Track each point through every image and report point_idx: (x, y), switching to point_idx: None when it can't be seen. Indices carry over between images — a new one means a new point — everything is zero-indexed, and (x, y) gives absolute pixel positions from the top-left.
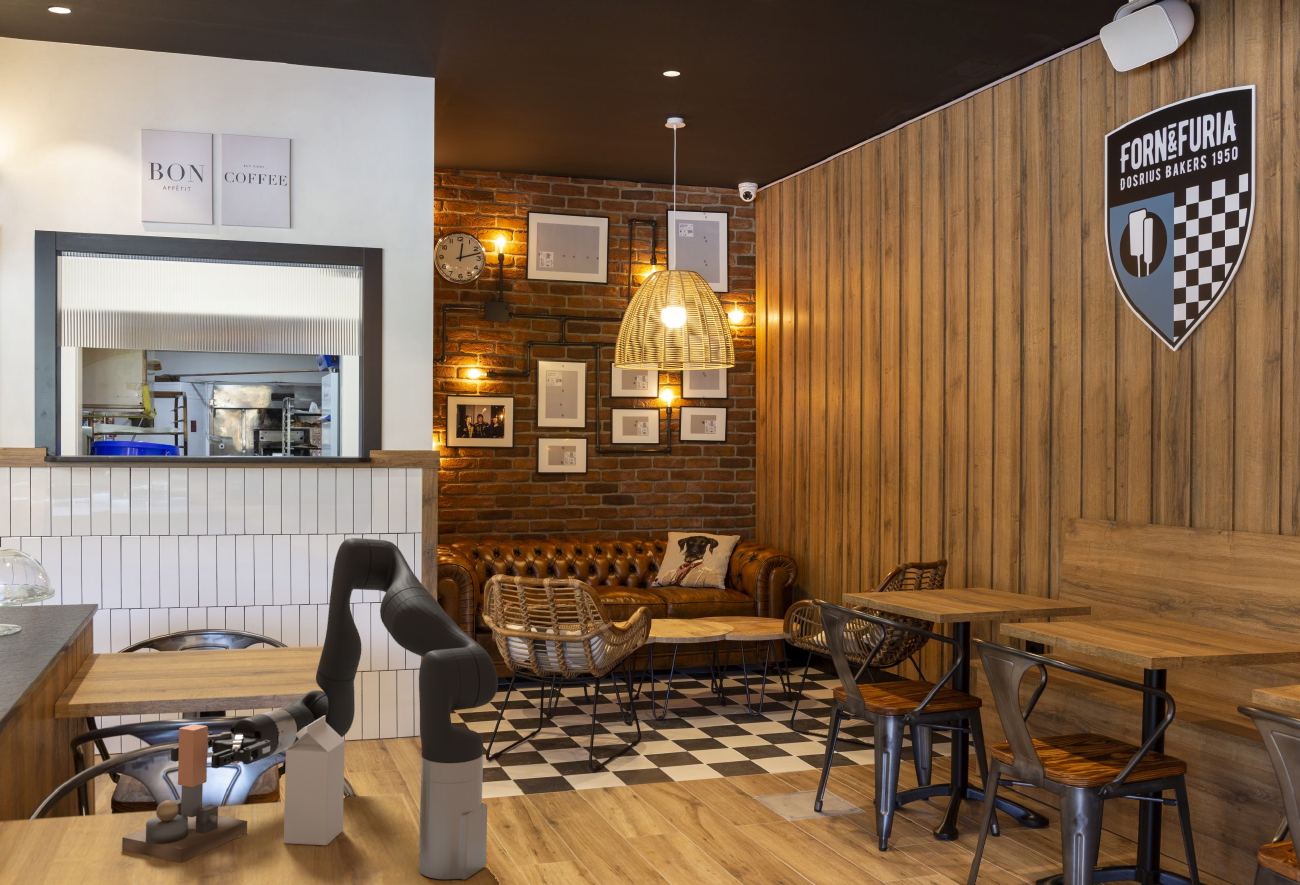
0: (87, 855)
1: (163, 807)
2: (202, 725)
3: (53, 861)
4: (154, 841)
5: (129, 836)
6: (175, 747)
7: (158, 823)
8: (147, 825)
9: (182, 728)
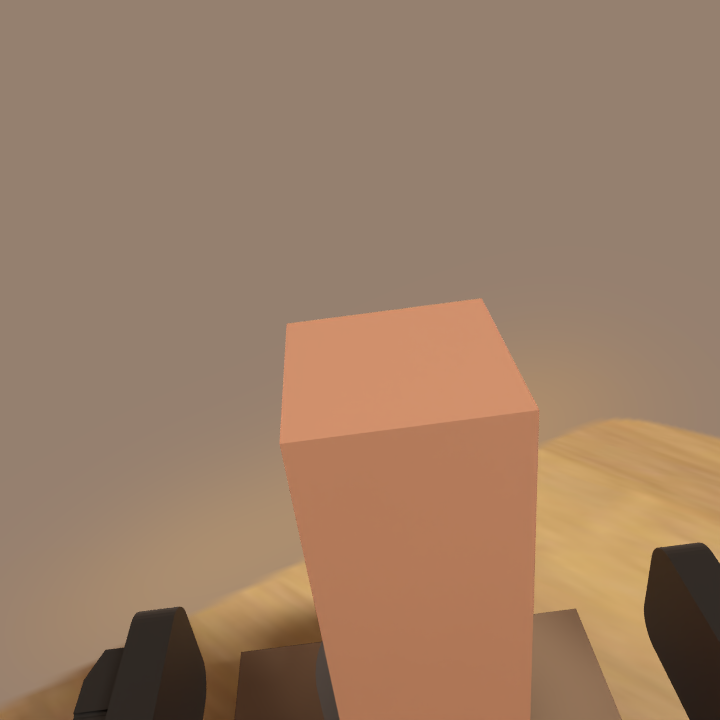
0: (616, 559)
1: None
2: (373, 429)
3: (636, 489)
4: None
5: (563, 628)
6: (700, 562)
7: None
8: None
9: (448, 306)
